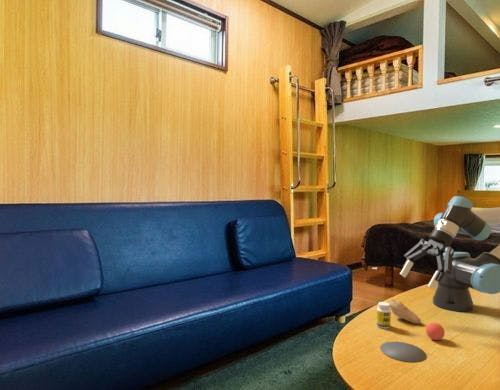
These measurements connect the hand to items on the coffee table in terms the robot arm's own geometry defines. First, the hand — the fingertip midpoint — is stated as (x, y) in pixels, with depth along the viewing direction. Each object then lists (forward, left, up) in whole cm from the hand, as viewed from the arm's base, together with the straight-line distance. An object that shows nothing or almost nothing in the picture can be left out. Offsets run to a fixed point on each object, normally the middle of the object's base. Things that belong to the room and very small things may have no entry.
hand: (415, 281), depth 132 cm
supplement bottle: (+14, +1, -16) cm, 21 cm away
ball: (+3, +14, -13) cm, 19 cm away
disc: (+19, +20, -16) cm, 31 cm away
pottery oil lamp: (+3, -3, -16) cm, 16 cm away
